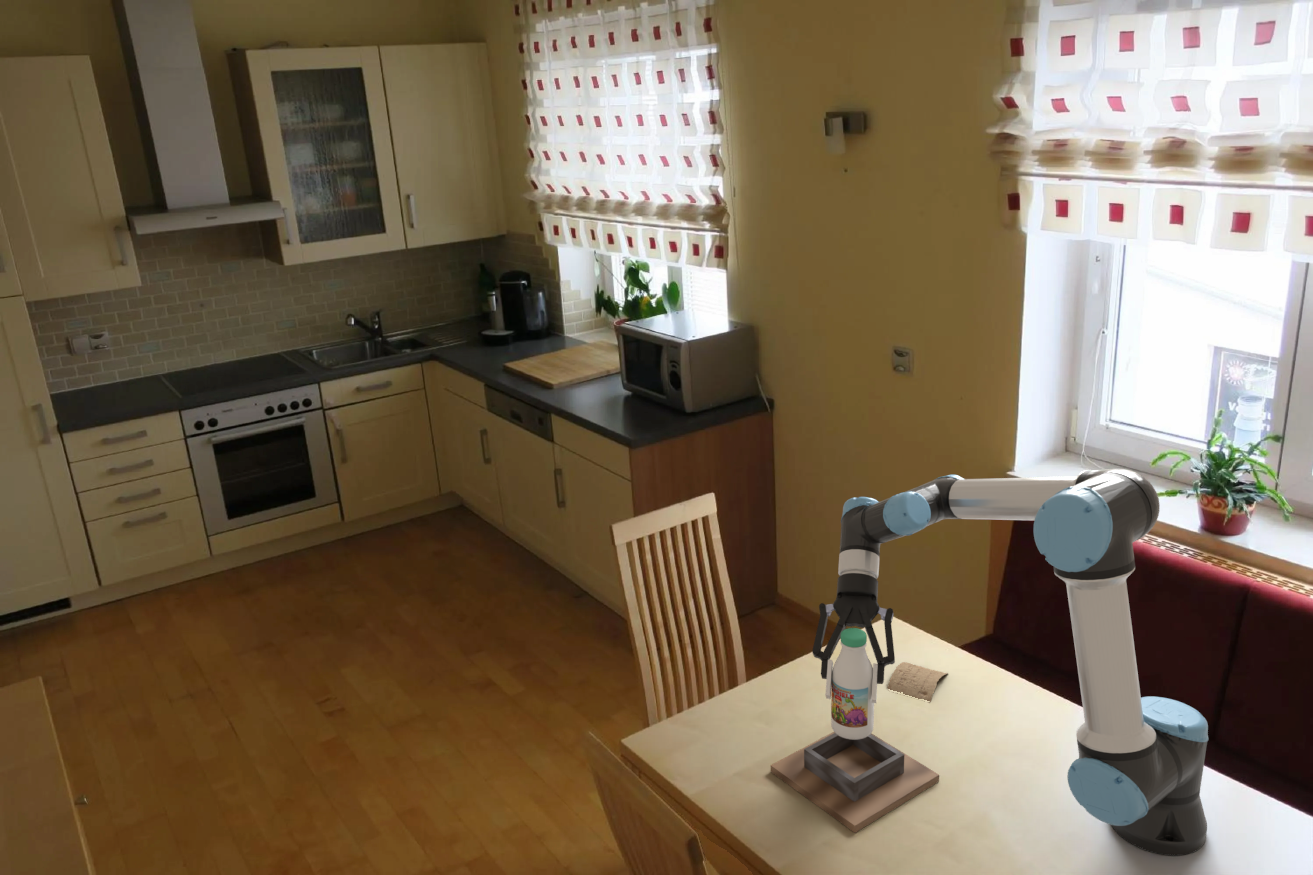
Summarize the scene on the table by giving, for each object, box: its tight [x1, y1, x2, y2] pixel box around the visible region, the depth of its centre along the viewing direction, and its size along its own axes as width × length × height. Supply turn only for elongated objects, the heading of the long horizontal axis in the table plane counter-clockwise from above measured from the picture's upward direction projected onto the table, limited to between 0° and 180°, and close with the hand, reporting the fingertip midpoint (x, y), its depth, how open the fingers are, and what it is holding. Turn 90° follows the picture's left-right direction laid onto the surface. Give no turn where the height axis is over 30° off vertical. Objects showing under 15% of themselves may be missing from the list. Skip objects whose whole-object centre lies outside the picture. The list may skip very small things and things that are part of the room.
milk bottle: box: [830, 627, 875, 740], centre depth 186 cm, size 8×8×20 cm
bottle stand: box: [770, 731, 940, 833], centre depth 191 cm, size 22×22×6 cm
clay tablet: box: [886, 661, 948, 704], centre depth 221 cm, size 14×10×3 cm
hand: (850, 698), depth 183 cm, fingers closed on milk bottle, 7 cm apart
